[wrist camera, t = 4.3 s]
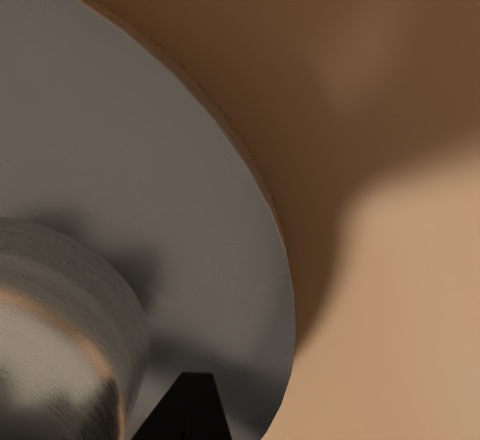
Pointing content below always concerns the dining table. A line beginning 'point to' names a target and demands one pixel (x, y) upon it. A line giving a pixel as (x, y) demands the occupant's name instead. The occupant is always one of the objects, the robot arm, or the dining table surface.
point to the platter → (149, 198)
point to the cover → (66, 339)
